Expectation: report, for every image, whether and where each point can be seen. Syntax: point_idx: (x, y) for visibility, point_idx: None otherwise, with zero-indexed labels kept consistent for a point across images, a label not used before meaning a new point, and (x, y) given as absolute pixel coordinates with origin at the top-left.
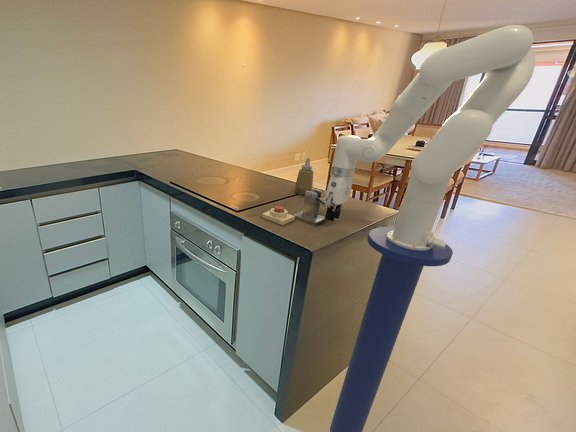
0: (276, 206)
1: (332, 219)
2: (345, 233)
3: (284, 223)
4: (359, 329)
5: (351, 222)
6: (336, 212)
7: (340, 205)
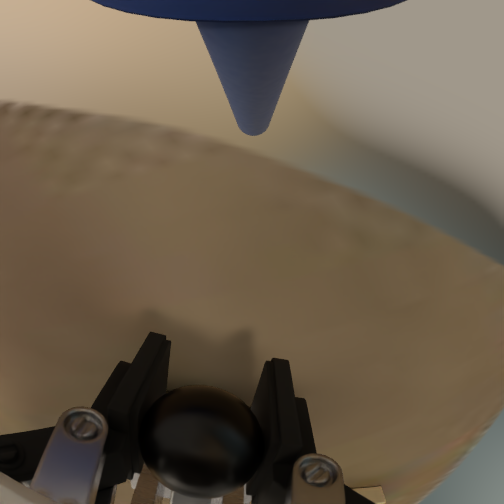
0: None
1: (286, 378)
2: (303, 191)
3: (370, 491)
4: (255, 97)
5: (32, 213)
6: (254, 425)
7: (101, 464)
